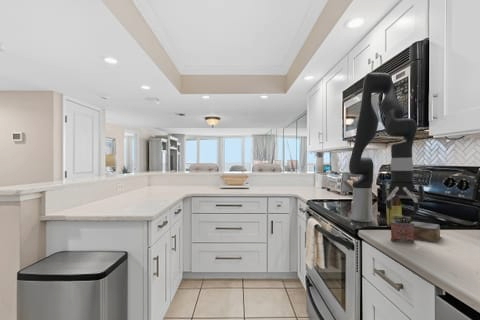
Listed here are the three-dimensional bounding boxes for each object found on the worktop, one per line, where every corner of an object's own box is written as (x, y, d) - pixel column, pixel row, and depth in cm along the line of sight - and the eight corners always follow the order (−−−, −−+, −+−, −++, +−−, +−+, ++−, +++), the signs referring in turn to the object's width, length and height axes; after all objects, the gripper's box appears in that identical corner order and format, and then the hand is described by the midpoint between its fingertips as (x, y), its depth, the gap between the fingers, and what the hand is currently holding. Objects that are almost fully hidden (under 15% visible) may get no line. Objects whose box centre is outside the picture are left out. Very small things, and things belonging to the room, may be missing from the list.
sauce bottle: (405, 228, 124) (404, 185, 124) (395, 229, 122) (395, 186, 122) (392, 225, 130) (392, 184, 130) (383, 226, 128) (382, 184, 128)
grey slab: (406, 237, 110) (406, 225, 110) (411, 232, 117) (411, 221, 117) (436, 242, 103) (436, 229, 103) (440, 236, 110) (439, 224, 110)
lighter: (412, 240, 105) (412, 215, 105) (415, 243, 102) (415, 217, 102) (389, 239, 107) (389, 214, 107) (392, 241, 104) (391, 216, 104)
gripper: (425, 169, 102) (426, 211, 102) (384, 169, 112) (385, 207, 112) (421, 169, 97) (422, 214, 97) (379, 169, 107) (379, 210, 106)
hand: (402, 211), depth 104 cm, fingers open, 8 cm apart
